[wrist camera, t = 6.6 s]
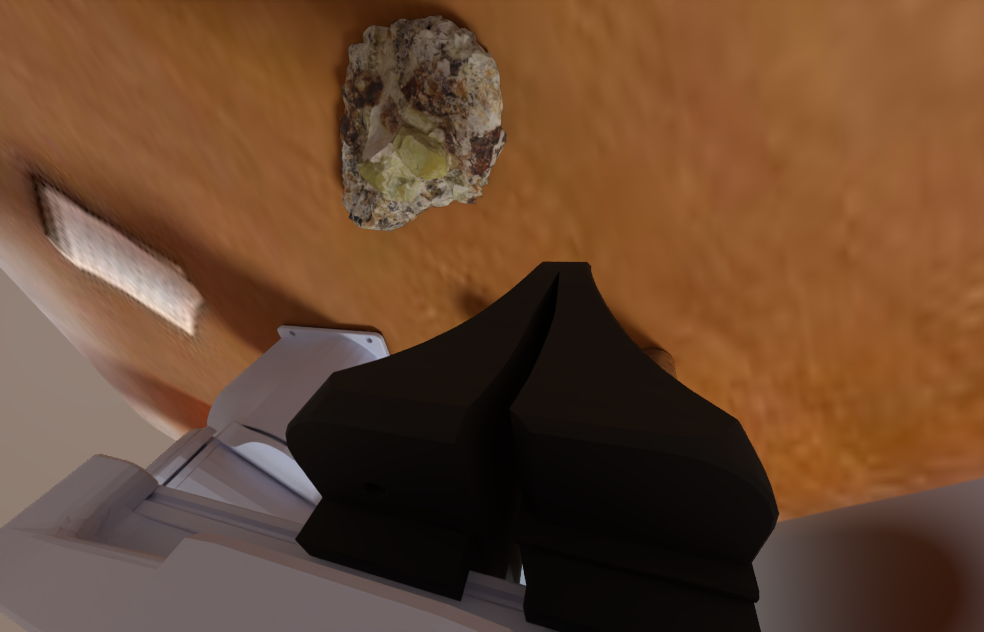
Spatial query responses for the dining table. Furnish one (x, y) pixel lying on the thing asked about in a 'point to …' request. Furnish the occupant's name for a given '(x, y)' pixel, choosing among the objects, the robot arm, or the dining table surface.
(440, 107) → the mineral rock
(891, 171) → the dining table surface
